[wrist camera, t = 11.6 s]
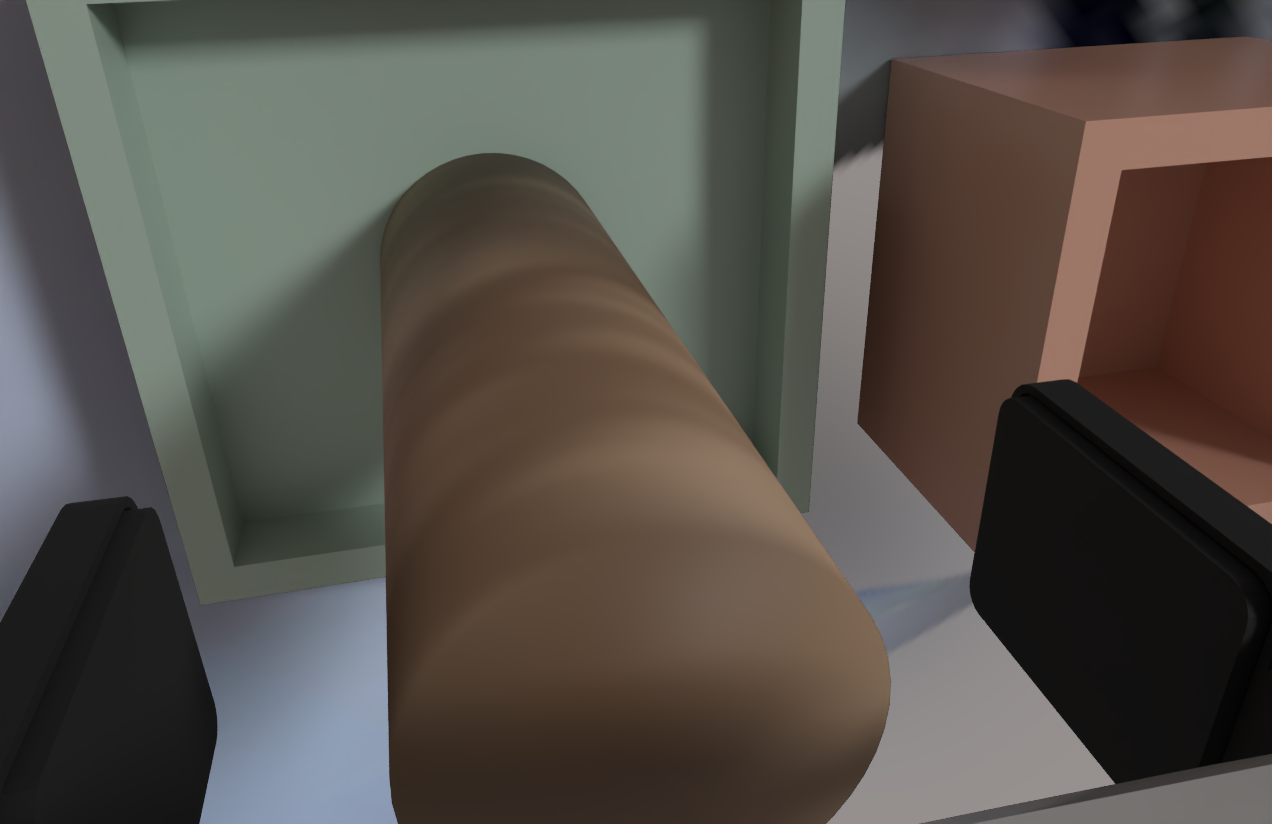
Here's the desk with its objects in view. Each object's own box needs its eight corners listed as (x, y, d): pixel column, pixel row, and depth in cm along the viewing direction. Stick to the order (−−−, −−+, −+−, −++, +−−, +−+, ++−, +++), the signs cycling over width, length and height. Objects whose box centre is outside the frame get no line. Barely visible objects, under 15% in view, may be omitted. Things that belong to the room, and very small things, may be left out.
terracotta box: (1247, 36, 22) (1542, 85, 17) (1160, 381, 26) (1373, 515, 21) (892, 58, 20) (1085, 121, 15) (857, 422, 25) (999, 580, 19)
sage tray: (798, -85, 19) (851, -81, 17) (772, 459, 24) (808, 511, 22) (56, -60, 16) (10, -53, 14) (217, 538, 22) (201, 604, 20)
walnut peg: (598, 144, 19) (916, 499, 8) (606, 352, 21) (868, 868, 10) (364, 162, 18) (350, 587, 7) (396, 376, 20) (425, 969, 9)
